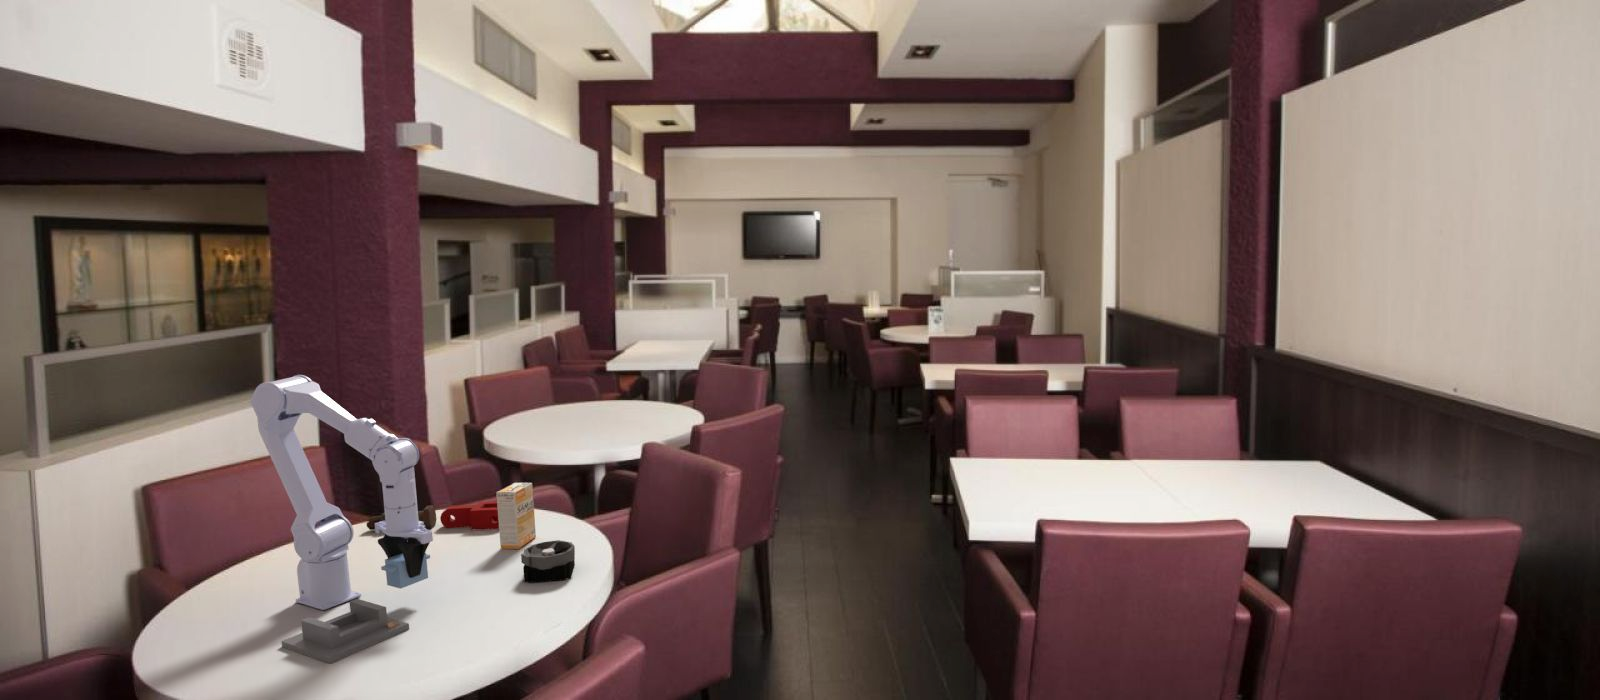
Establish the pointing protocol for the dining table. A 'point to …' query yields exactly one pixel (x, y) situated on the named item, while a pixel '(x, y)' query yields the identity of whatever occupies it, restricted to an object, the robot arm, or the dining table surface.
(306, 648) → the board
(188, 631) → the dining table surface
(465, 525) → the mechanical linkage
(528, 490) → the supplement box
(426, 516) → the bolt
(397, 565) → the block
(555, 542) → the cpu cooler
